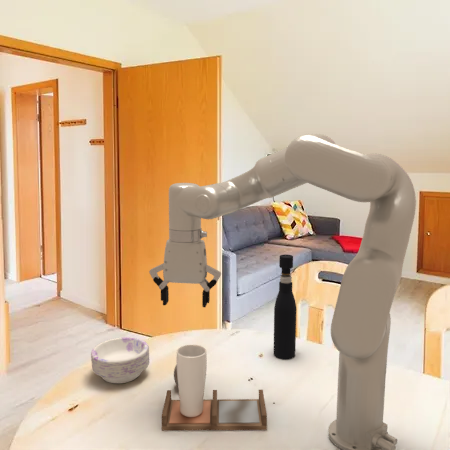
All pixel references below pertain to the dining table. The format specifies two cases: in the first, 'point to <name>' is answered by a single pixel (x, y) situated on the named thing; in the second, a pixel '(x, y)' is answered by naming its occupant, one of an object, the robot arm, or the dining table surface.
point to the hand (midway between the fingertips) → (185, 304)
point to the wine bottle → (285, 313)
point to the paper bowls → (120, 359)
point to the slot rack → (217, 414)
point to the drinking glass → (191, 379)
